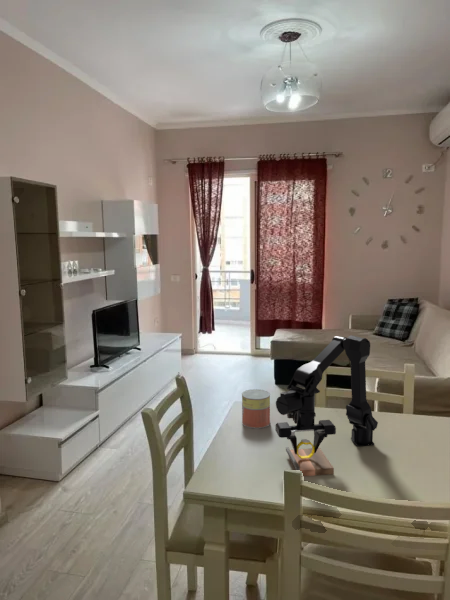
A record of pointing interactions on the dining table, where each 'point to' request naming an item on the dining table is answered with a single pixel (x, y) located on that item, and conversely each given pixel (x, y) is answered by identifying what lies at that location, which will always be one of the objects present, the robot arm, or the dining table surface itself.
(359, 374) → the robot arm
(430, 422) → the dining table surface
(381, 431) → the dining table surface
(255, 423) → the canned food
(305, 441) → the watch
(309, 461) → the copper slab
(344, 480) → the dining table surface
